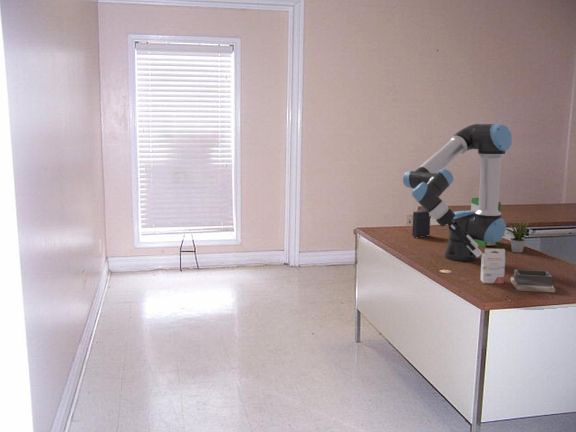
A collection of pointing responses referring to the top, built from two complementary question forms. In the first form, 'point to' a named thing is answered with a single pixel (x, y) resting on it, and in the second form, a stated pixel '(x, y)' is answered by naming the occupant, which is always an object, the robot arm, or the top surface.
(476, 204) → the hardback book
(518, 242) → the house plant
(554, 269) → the top surface
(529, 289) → the sleeve stand
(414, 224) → the dark navy upright block
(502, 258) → the ink cartridge box
